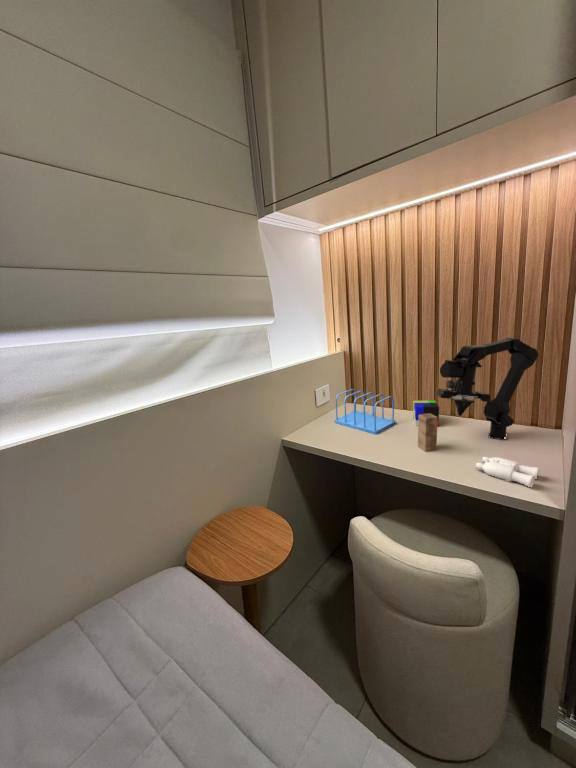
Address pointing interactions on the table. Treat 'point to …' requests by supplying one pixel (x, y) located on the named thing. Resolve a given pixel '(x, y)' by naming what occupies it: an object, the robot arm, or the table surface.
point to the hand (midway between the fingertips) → (459, 415)
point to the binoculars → (509, 470)
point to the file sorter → (366, 416)
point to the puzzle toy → (425, 410)
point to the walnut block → (427, 432)
